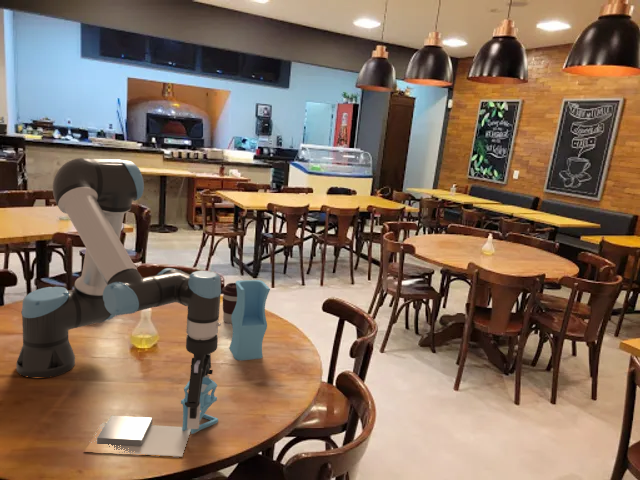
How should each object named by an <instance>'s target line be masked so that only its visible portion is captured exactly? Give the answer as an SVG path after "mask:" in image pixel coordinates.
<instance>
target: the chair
mask: <svg viewBox="0 0 640 480" xmlns="http://www.w3.org/2000/svg"><path fill="white" fill-rule="evenodd" d="M189 382H190V380H189V381H187V383H186V384H185V387H184V388H183V390H184V391H183V392H184V398H183V399H181V400H180V404H181V405H182V426H181V427H182V430H183V431H185V430H186V429H187V419H188V407H186V405H185V402H187V398H188V390H189ZM202 384H206V385H208V386H207V387H206V389H205V390H204V392H203V393H202V392H201V395H200V401H199V402H200V419H199V423H201V420H202V419H203V418H204V419H206V420H208V421H206V422H204V423H201V424H199V429H191V433H190V435H191V434H193V435H194V434H195V433H197V432H199V431H201V430H202V431H203V430H204V429H207V428H209V427H211V426H213V425H215V424H218V422H219V418H218V417H214V416H212V415H209V414H207V413H206V412H207V411H208V409H209V408H210V407H211V405H212V404H214V403H216V402H217V401H218V397H217V396H215V393H216V390H217V387H218V384H217V383H216V382H215V380H213V379H211V378H210V377H209V378H207V377H203V381H202ZM208 392H209V393H210V392H211V393H210V394H209V393H208ZM207 393H208V394H207Z"/></svg>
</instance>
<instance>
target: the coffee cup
mask: <svg viewBox="0 0 640 480" xmlns="http://www.w3.org/2000/svg"><path fill="white" fill-rule="evenodd" d="M221 294H223V295H222V313H223V314H222V315H223V319H222V320H223V322H225V323H227V324H231V325H232V319H231V316H232V313H233V311H234V309H235V306H236V303H237V288H236V282H230V283H227V284H226V285H225V286H223V287H221Z"/></svg>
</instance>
